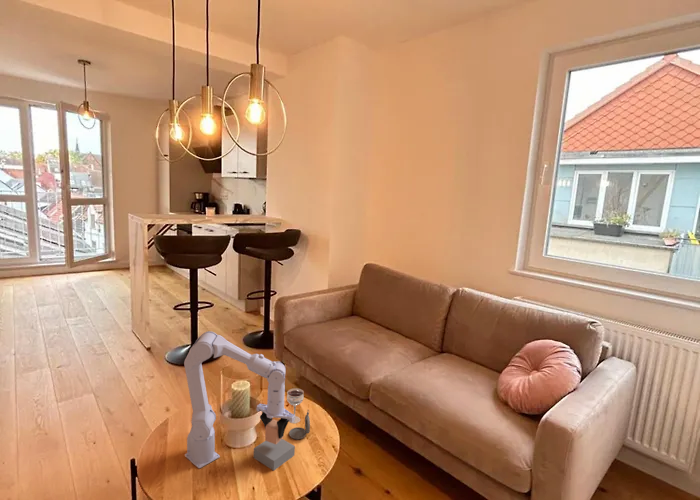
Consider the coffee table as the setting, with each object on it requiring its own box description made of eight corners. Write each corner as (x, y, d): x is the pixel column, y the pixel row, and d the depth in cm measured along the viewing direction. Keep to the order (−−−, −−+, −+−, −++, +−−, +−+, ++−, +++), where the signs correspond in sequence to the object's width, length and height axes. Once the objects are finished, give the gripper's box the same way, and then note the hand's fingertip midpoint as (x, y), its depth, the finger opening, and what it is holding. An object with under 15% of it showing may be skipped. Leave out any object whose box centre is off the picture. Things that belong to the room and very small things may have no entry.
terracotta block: (265, 440, 136) (265, 425, 135) (272, 433, 140) (273, 419, 139) (276, 444, 134) (276, 429, 133) (283, 437, 138) (283, 422, 137)
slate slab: (253, 458, 137) (253, 448, 137) (274, 444, 145) (274, 434, 145) (273, 471, 132) (274, 461, 131) (294, 456, 140) (294, 446, 139)
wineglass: (283, 422, 158) (284, 395, 156) (289, 413, 165) (290, 387, 163) (299, 426, 157) (300, 398, 155) (304, 416, 163) (306, 389, 161)
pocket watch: (285, 434, 151) (286, 410, 149) (302, 425, 157) (303, 402, 156) (299, 444, 146) (300, 419, 144) (316, 435, 152) (317, 411, 150)
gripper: (251, 398, 134) (250, 434, 136) (287, 410, 129) (286, 447, 131) (263, 389, 141) (262, 424, 143) (298, 400, 135) (297, 436, 137)
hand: (274, 434), depth 137 cm, fingers closed on terracotta block, 4 cm apart
